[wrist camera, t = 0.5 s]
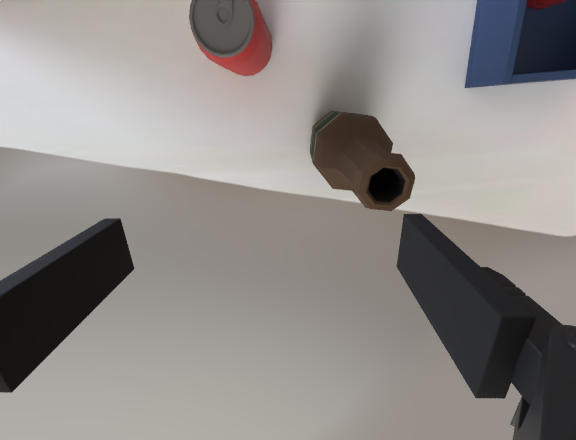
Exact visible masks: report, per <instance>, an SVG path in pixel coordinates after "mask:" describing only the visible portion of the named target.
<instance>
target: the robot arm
mask: <svg viewBox="0 0 576 440" xmlns="http://www.w3.org/2000/svg"><path fill="white" fill-rule="evenodd" d="M397 268H398V270H399V271H400V273H401V275H402V276H403V278H404V279H405V281H406V283H407V285H408V286H409V288H410V290H411V291H412V293H413V295H414V296H415V298H416V299H417V301H418V303H419V305H420V306H421V308H422V309H423V311H424V313H425V314H426V316H427V318H428V320H429V321H430V323H431V325H432V326H433V328H434V330H435V331H436V333H437V334H438V336H439V338H440V339H441V341H442V343H443V344H444V346H445V348H446V349H447V351H448V353H449V354H450V356H451V358H452V359H453V361H454V363H455V364H456V366H457V368H458V369H459V371H460V373H461V374H462V376H463V378H464V379H465V381H466V383H467V384H468V386H469V387H470V389H471V391H472V392H473V394H474V396H475V398H505V397H506V394H507V392H508V389H509V386H510V384H511V382H512V384H513V385H514V386H515V387H516V389H517V390H518V391H519V393H520V394H521V395H522V398H521V400H520V402H519V405H518V407H517V409H516V412H515V414H514V417H513V419H512V422H511V425H512V426H514V427H515V429H514V436H513V440H576V327H575V326H571V325H562V324H561V323H560V322H559V321H558V320H556V319H555V318H554V317H553V316H551V315H550V314H549V313H548V312H547V311H546V310H544V309H543V308H542V307H541V306H540V305H538V304H537V303H536V302H535V301H534V300H532V299H531V298H530V297H529V296H526V295H525V293H524V292H523V291H522V290H521V289H519V288H518V287H516V286H515V285H514V284H513V283H512V282H511V281H510V280H509V279H507V278H506V277H505V276H504V275H502V274H500V273H498V272H496V271H494V270H492V269H490V268H488V267H480V266H479V265H477V264H476V263H475V262H474V261H473V260H472V259H471V258H469V256H467V255H466V254H465V253H464V252H463V251H462V250H461V249H460V248H459V247H457V246H456V245H455V244H454V243H453V242H452V241H451V240H450V239H449V238H447V237H446V236H445V235H444V234H443V233H442V232H441V231H440V230H438V229H437V228H436V227H435V226H434V225H433V224H432V223H431V222H430V221H428V220H427V219H426V218H425V217H424V216H423V215H422V214H404V217H403V225H402V233H401V239H400V247H399V254H398V261H397ZM133 269H134V266H133V262H132V259H131V255H130V251H129V248H128V244H127V241H126V237H125V234H124V230H123V226H122V223H121V219H103V220H102V221H100V222H98V223H97V224H95V225H93V226H92V227H90V228H88V229H87V230H85V231H83V232H81V233H80V234H78V235H76V236H75V237H73V238H71V239H70V240H68V241H66V242H65V243H63V244H61V245H60V246H58V247H57V248H55V249H53V250H51V251H50V252H48V253H46V254H45V255H43V256H41V257H40V258H38V259H36V260H35V261H33V262H31V263H29V264H28V265H26V266H24V267H23V268H21V269H19V270H18V271H16V272H14V273H13V274H11V275H9V276H8V277H6V278H4V279H3V280H1V281H0V392H13V391H14V390H15V389H16V388H17V387H18V386H19V385H20V384H21V383H22V382H23V381H24V380H25V378H27V377H28V375H29V374H30V373H31V372H32V371H33V370H34V369H35V368H36V367H37V366H38V365H39V364H40V363H41V362H42V361H43V360H44V359H45V358H46V357H47V356H48V355H49V354H50V353H51V352H52V351H53V350H54V349H55V348H56V347H57V346H58V345H59V344H60V343H61V342H62V341H63V340H64V339H65V338H66V337H67V336H68V335H69V334H70V333H71V332H72V331H73V330H74V329H75V328H76V327H77V326H78V325H79V324H80V323H81V322H82V321H83V320H84V319H85V318H86V317H87V316H88V315H89V314H90V313H91V312H92V311H93V310H94V309H95V308H96V307H97V306H98V305H99V304H100V303H101V302H102V301H103V300H104V299H105V298H106V297H107V296H108V295H109V294H110V292H112V291H113V290H114V289H115V288H116V287H117V286H118V285H119V284H120V283H121V282H122V281H123V280H124V279H125V278H126V277H127V275H129V274H130V273H131V272H132V271H133Z"/></svg>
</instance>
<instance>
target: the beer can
mask: <svg viewBox="0 0 576 440" xmlns="http://www.w3.org/2000/svg"><path fill="white" fill-rule="evenodd" d="M189 19H190V25H191V30H192V32H193V35H194V37H195V39H196V41H197V44H198V46H199V48H200V49H201V51H202V52H203V53H204V54H205V55H206V56H207V58H209V59H210V60H212V61H213V62H215V63H216V64H218V65H220V66H222V67H224V68H226V69H228V70H230V71H232V72H234V73H236V74H239V75H243V76H249V75H254V74H256V73H258V72H260V71H261V70H262V69H263V68H264V67H265V66H266V65H267V63H268V61H269V59H270V56H271V51H272V42H271V36H270V34H269V31H268V28H267V26H266V24H265V21H264V19H263V16H262V14H261V11H260V9H259V6H258V4H257V2H256V1H255V0H192V2H191V5H190V14H189Z"/></svg>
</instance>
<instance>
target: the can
mask: <svg viewBox="0 0 576 440" xmlns="http://www.w3.org/2000/svg"><path fill="white" fill-rule="evenodd" d="M565 1H567V0H527V4H526V6H528V7H530V8H533V9H546V8H549V7H552V6H555V5H557V4H560V3H562V2H565Z"/></svg>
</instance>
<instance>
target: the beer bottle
mask: <svg viewBox="0 0 576 440" xmlns="http://www.w3.org/2000/svg"><path fill="white" fill-rule="evenodd" d="M392 145H393V143H392V141H391V140H390V138H389V137H388V135H387V134H386V132H385V131H384V129H383V128H382V127H381V125H380V124H379V122H378V121H377V119H376V118H375V117H373V116H368V115H362V114H355V113H345V112H335V111H331V112H329V113H328V114H327V115H326V116H325V117H323V118H322V119H321V120H320V121H319V122H317V123H316V124H315V125H314V126H313V128H312V136H311V145H310V153H311V158H312V162H313V164H314V166H315V167H316V168H317V169H318V171H319V172H320V173H321V174H322V176H323V177H324V178H325V179H326V181H327V182H328V183H329V185H330V186H331V187H332V188H333V189H342V190H352V191H353V192H354V194H355V195H356V196H357V197H358V199H359V200H360V201H361V203H362V204H363V205H364V207H366V208H369V209H377V210H387V211H392V210H393V209H395V208H396V207H398V206H399V205H401V204H402V203H404V202H405V201H406V200H408V199H409V198H410V195H411V191H412V188H413V184H414V180H415V175H414V172H413V171H412V169H411V168H410V167H409V165H408V164H407V162H406V161H405V159H404V158H403V156H402V155H401V154H394V153H391V150H392Z"/></svg>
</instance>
